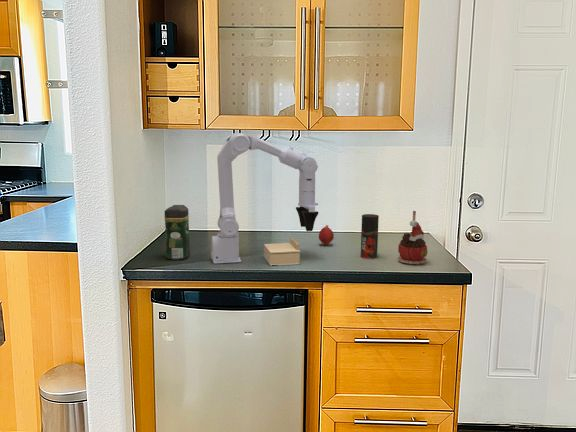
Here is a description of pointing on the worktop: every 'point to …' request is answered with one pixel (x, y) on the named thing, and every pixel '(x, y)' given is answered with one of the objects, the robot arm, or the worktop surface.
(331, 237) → the onion
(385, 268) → the worktop surface
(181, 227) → the coffee jar
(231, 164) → the robot arm
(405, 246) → the cake
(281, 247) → the lid
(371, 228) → the deodorant
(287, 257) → the base
